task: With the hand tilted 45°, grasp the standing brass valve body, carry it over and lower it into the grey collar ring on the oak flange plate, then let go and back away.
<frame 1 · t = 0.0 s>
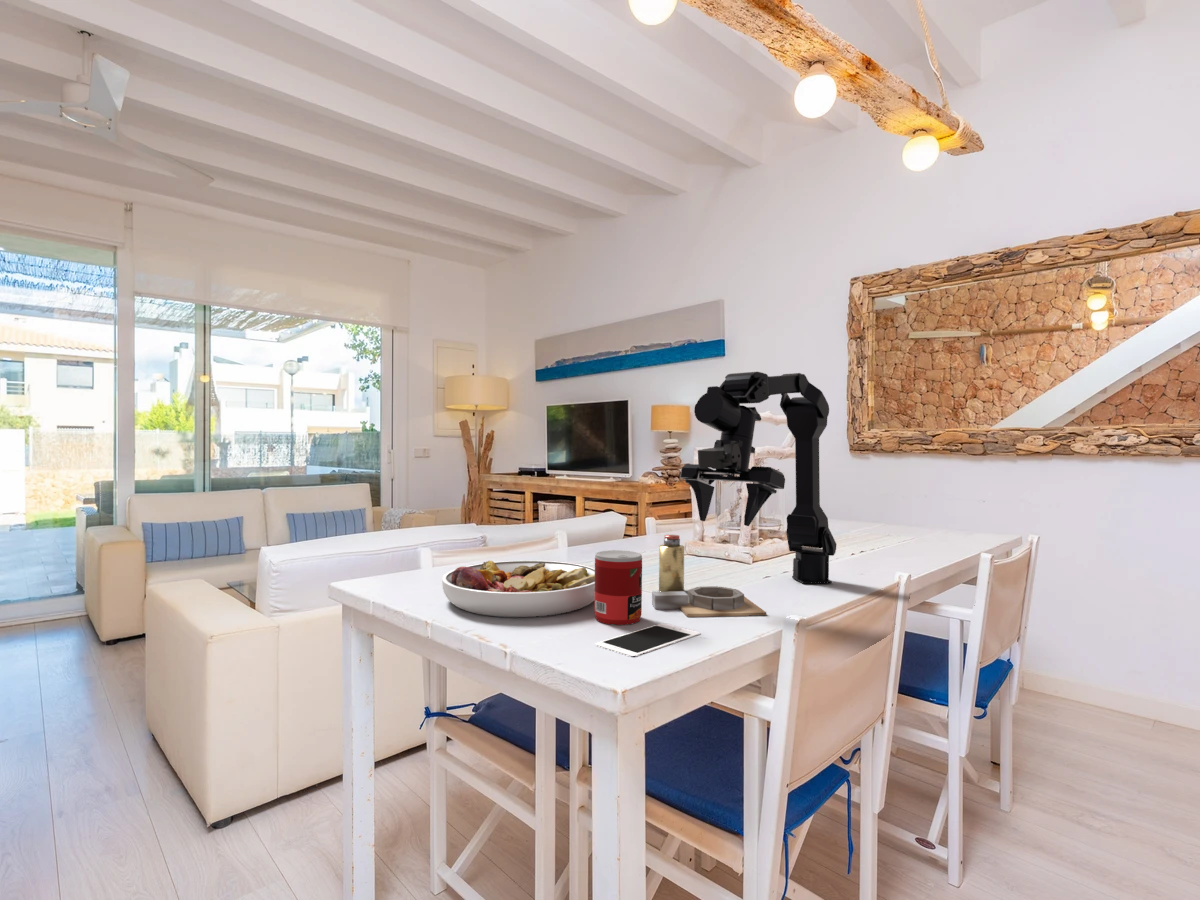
hand: (723, 523, 116), 15 cm above the table, tool pointing down, fingers open, 9 cm apart
bowl: (524, 602, 122), on the table
cell phone: (649, 643, 98), on the table
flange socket: (715, 605, 118), on the table
canned food: (617, 620, 109), on the table
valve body: (671, 590, 130), on the table
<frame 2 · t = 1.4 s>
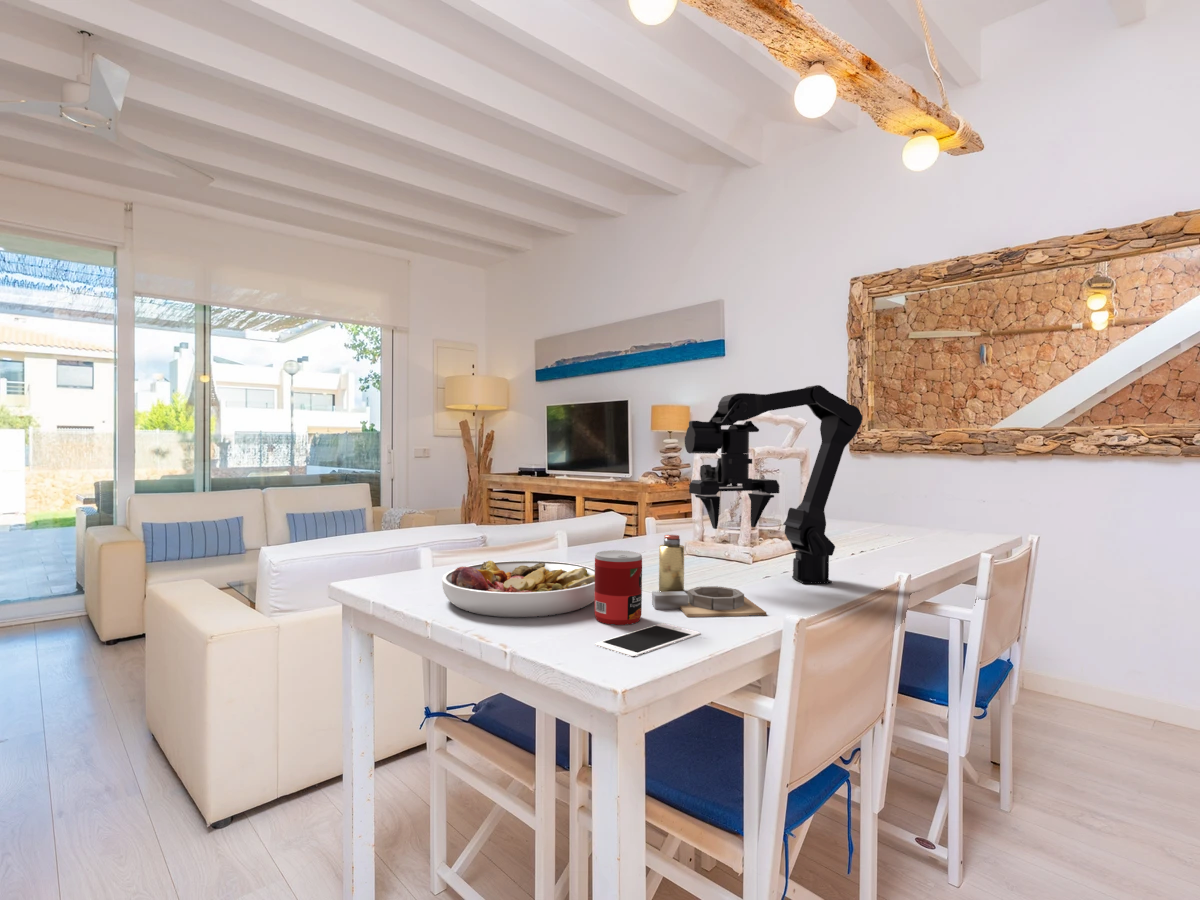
hand: (734, 527, 136), 12 cm above the table, tool pointing down, fingers open, 9 cm apart
nothing on the table moved.
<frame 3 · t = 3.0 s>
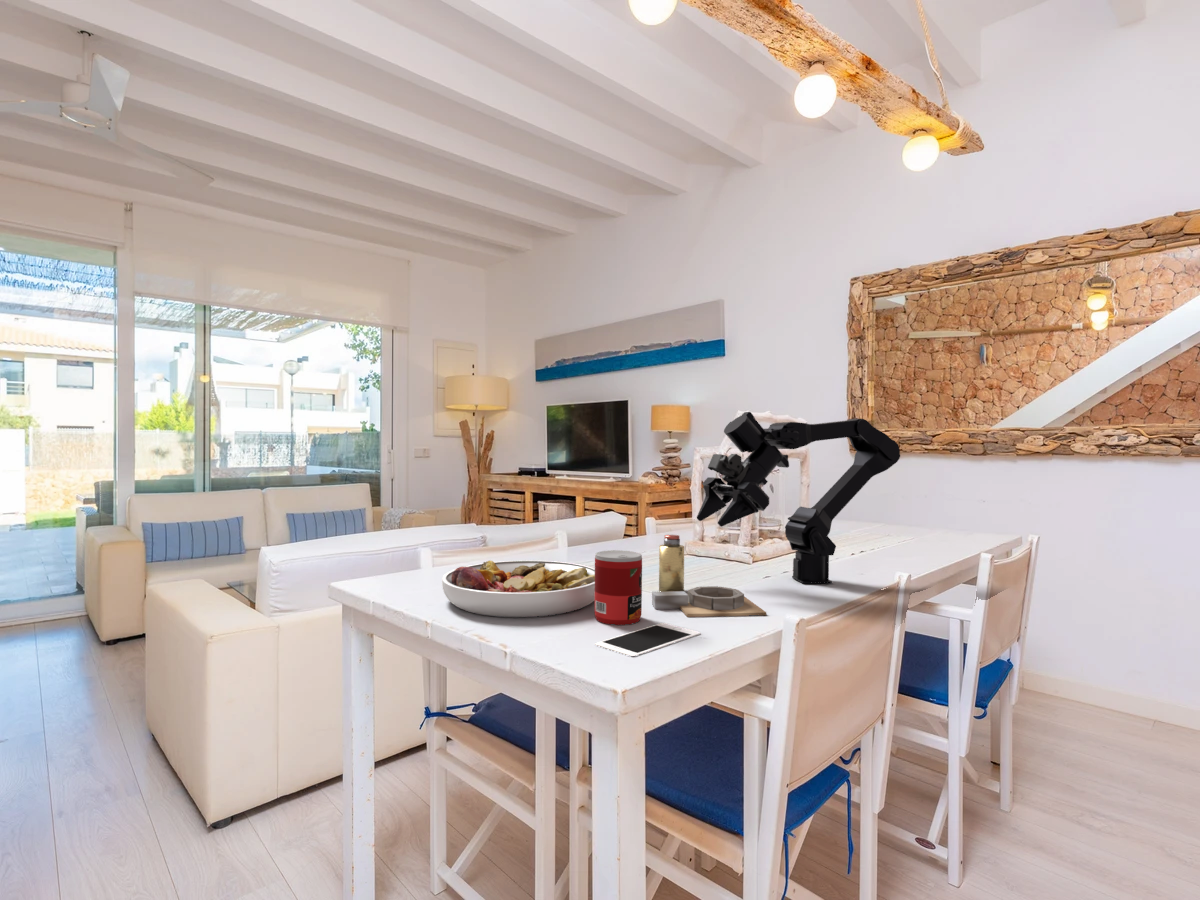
hand: (708, 522, 133), 14 cm above the table, tool tilted 45°, fingers open, 9 cm apart
nothing on the table moved.
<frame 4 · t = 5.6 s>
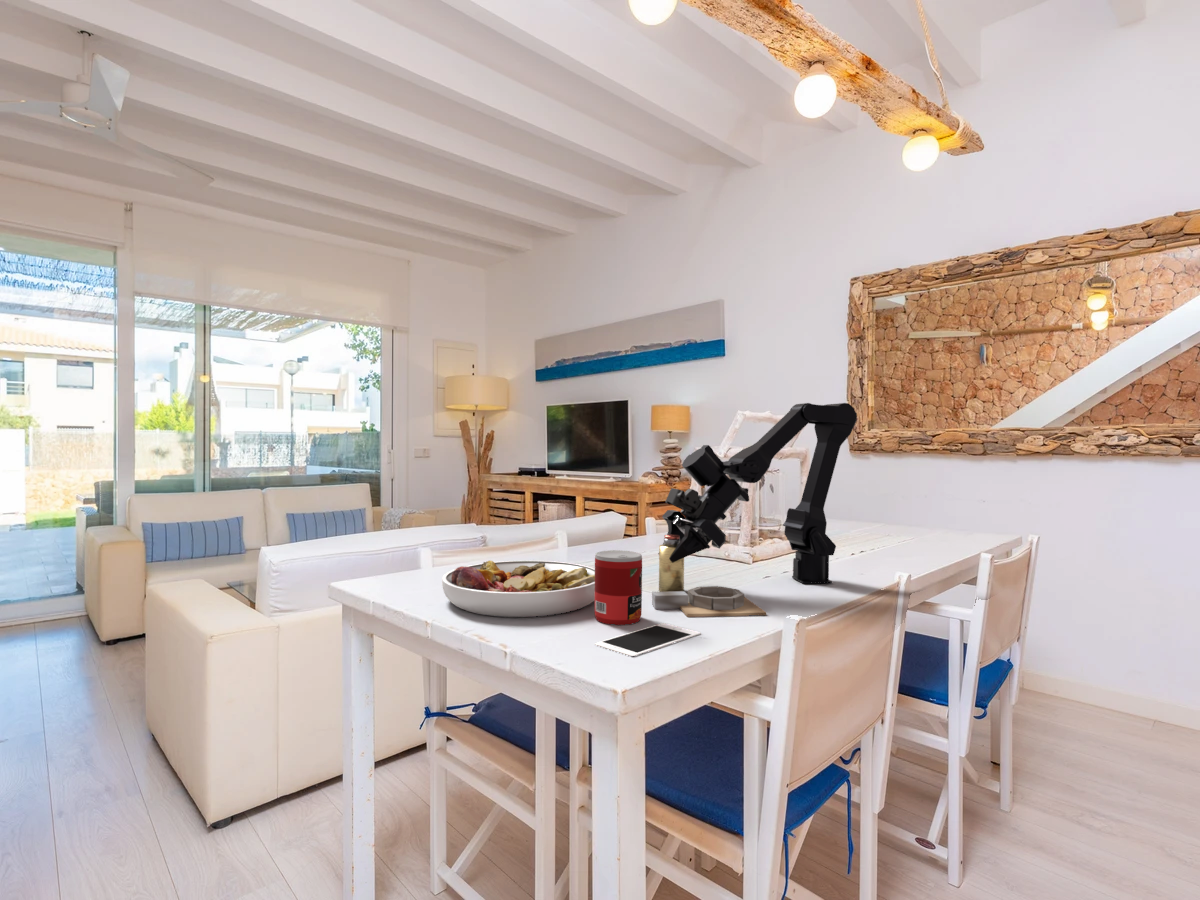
hand: (665, 558, 130), 7 cm above the table, tool tilted 45°, fingers closed on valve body, 5 cm apart
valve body: (671, 590, 130), on the table, touching gripper
everything else where it was.
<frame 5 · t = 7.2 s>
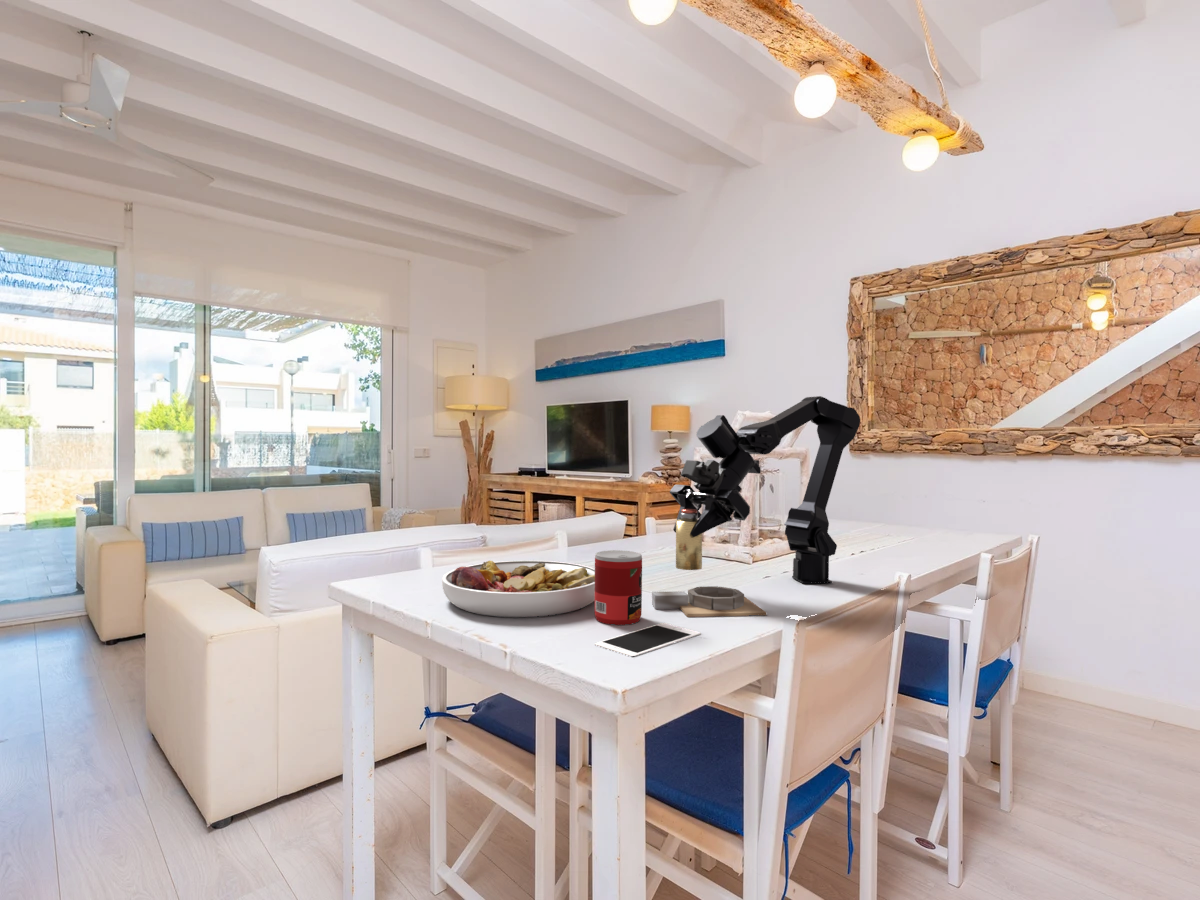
hand: (683, 533, 124), 12 cm above the table, tool tilted 45°, fingers closed on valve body, 5 cm apart
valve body: (688, 567, 124), point 6 cm above the table, touching gripper
everything else where it was.
when the fingers open (8 cm above the table, at t = 9.0 s): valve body drops 1 cm, resting on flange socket.
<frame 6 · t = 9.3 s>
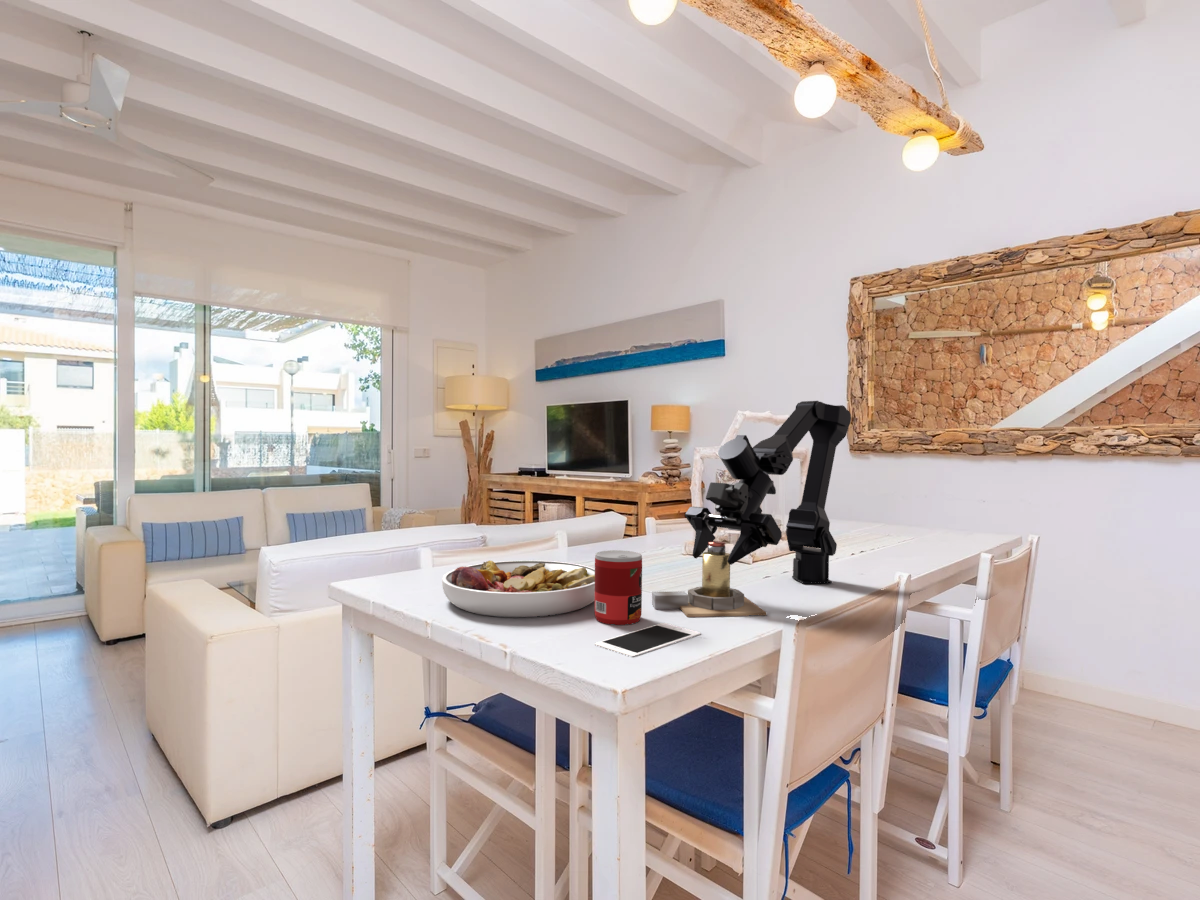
hand: (711, 560, 117), 9 cm above the table, tool tilted 45°, fingers open, 8 cm apart
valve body: (715, 603, 119), point 1 cm above the table, touching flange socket
everything else where it was.
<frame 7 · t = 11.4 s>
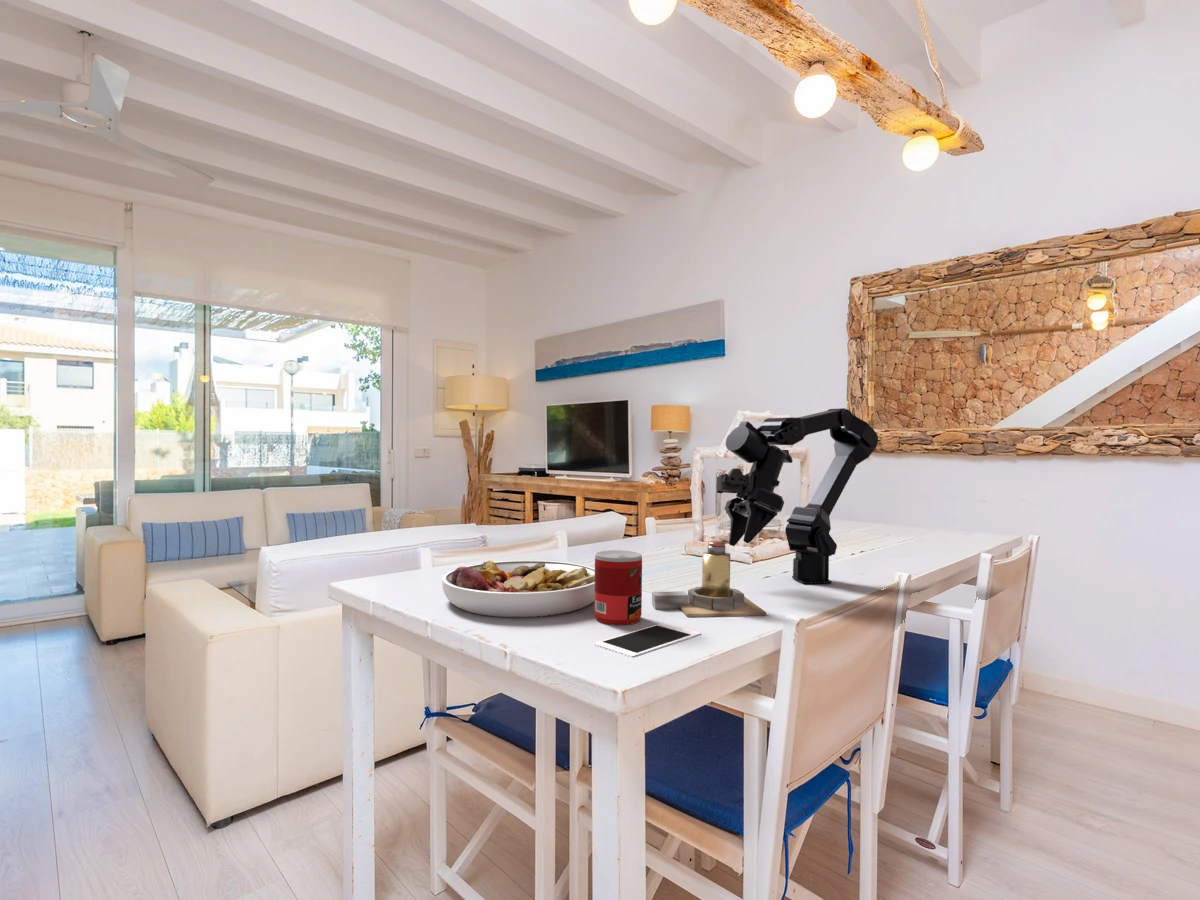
hand: (738, 543, 129), 10 cm above the table, tool tilted 25°, fingers open, 9 cm apart
nothing on the table moved.
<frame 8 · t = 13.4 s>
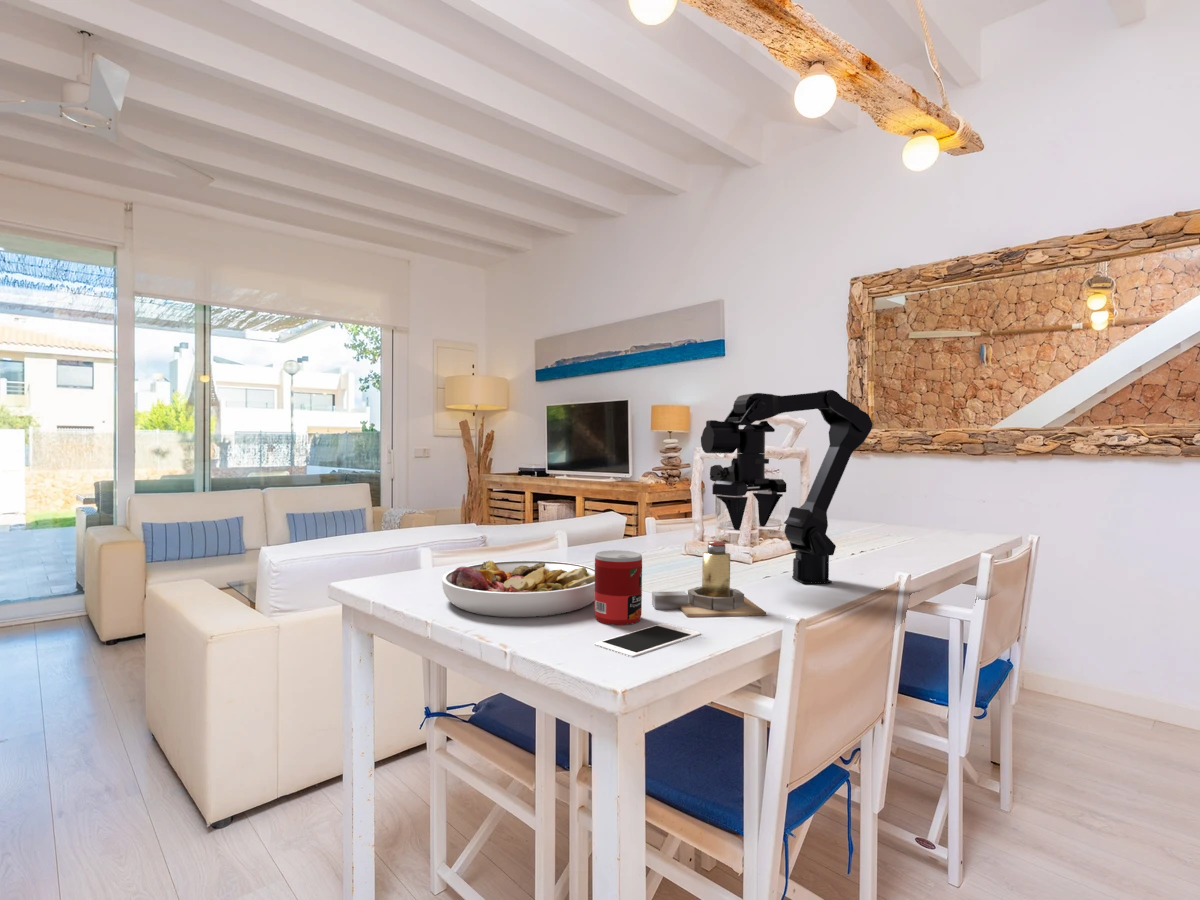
hand: (749, 528, 136), 12 cm above the table, tool pointing down, fingers open, 9 cm apart
nothing on the table moved.
at the end: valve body 0.1 cm from the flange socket (horizontally); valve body tilted 1°; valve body point 0.5 cm above the table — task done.
